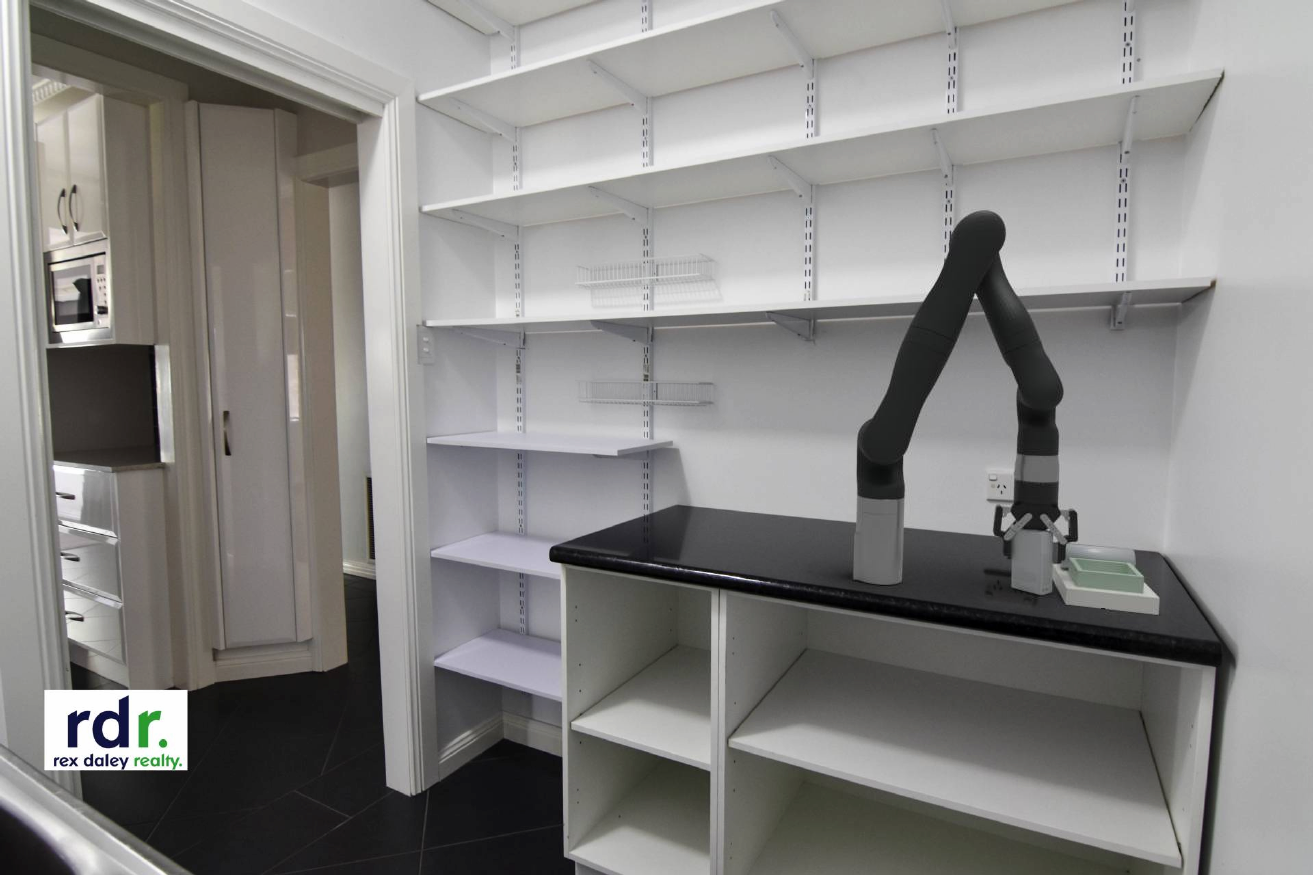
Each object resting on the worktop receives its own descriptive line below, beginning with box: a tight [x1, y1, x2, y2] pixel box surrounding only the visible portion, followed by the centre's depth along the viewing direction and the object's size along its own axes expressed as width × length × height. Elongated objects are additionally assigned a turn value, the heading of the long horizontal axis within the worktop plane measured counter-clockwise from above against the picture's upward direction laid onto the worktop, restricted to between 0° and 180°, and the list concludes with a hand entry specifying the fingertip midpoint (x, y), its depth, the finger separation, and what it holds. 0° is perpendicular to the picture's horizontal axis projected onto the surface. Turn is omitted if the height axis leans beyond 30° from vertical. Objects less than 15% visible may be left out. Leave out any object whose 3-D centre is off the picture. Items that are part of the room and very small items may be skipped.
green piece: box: [1068, 557, 1145, 593], centre depth 127 cm, size 10×10×3 cm
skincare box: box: [1010, 528, 1054, 596], centre depth 132 cm, size 6×4×12 cm
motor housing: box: [1052, 543, 1161, 616], centre depth 129 cm, size 14×18×8 cm
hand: (1033, 560), depth 132 cm, fingers open, 8 cm apart
